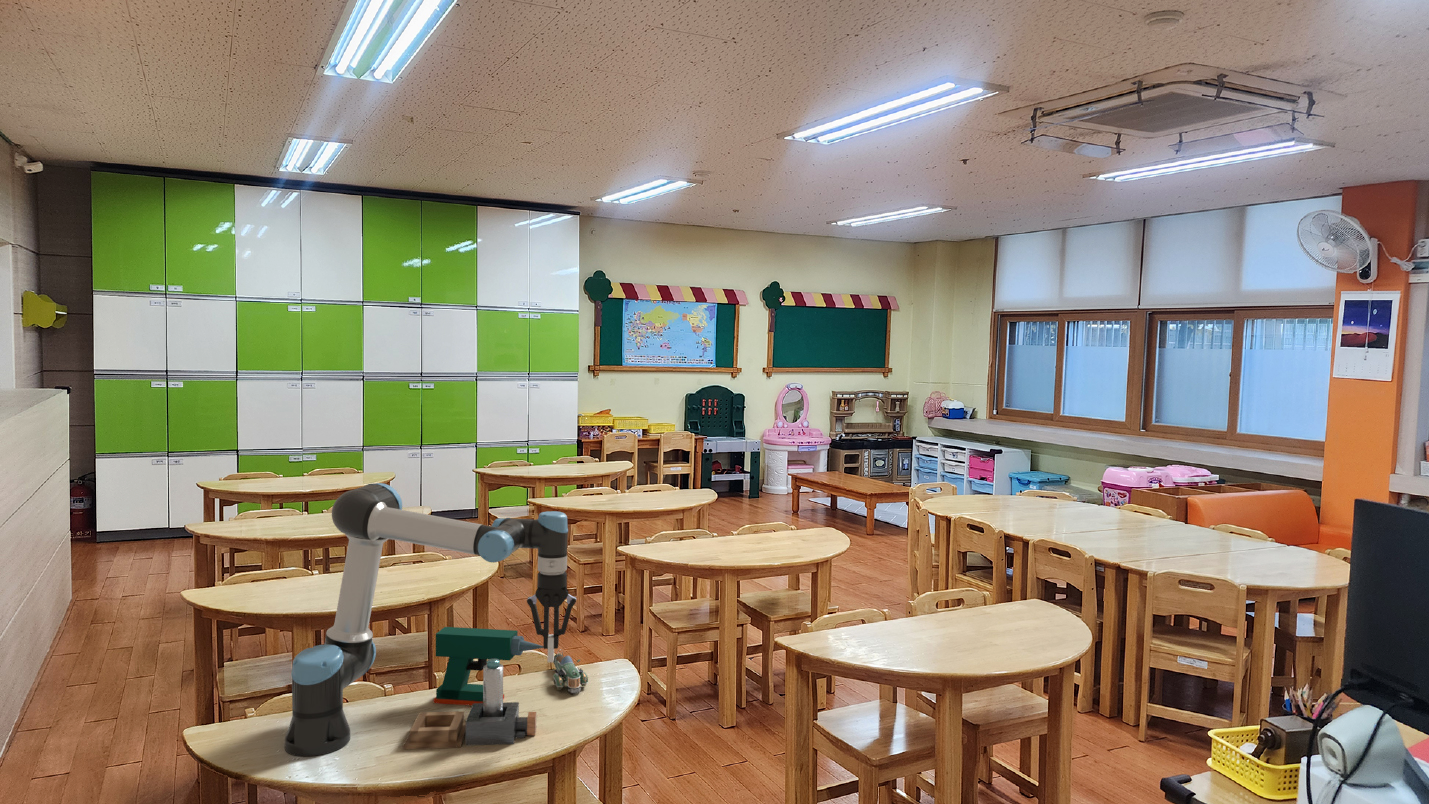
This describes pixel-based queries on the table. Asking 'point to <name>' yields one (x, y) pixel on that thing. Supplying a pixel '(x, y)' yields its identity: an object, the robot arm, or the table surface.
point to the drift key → (527, 724)
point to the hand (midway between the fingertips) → (550, 660)
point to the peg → (493, 689)
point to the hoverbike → (568, 674)
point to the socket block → (492, 726)
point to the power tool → (466, 648)
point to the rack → (437, 730)
